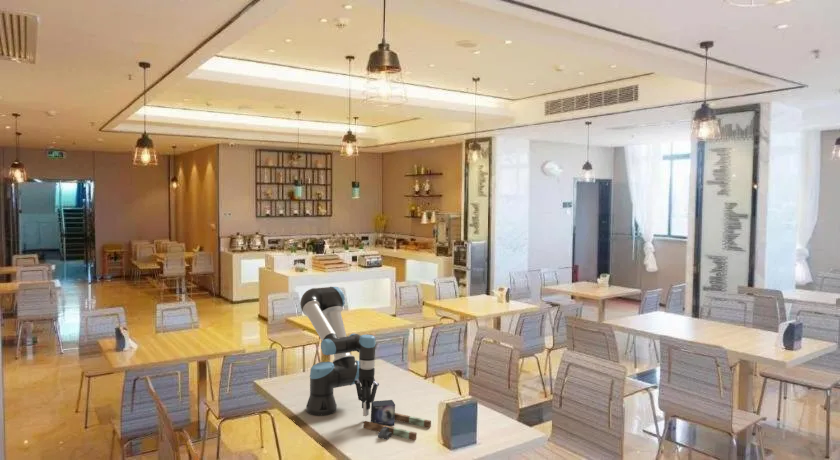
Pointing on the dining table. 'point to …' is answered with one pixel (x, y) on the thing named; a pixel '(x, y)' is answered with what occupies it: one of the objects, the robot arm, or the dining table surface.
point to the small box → (383, 412)
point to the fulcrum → (385, 433)
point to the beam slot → (400, 431)
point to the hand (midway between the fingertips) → (365, 415)
